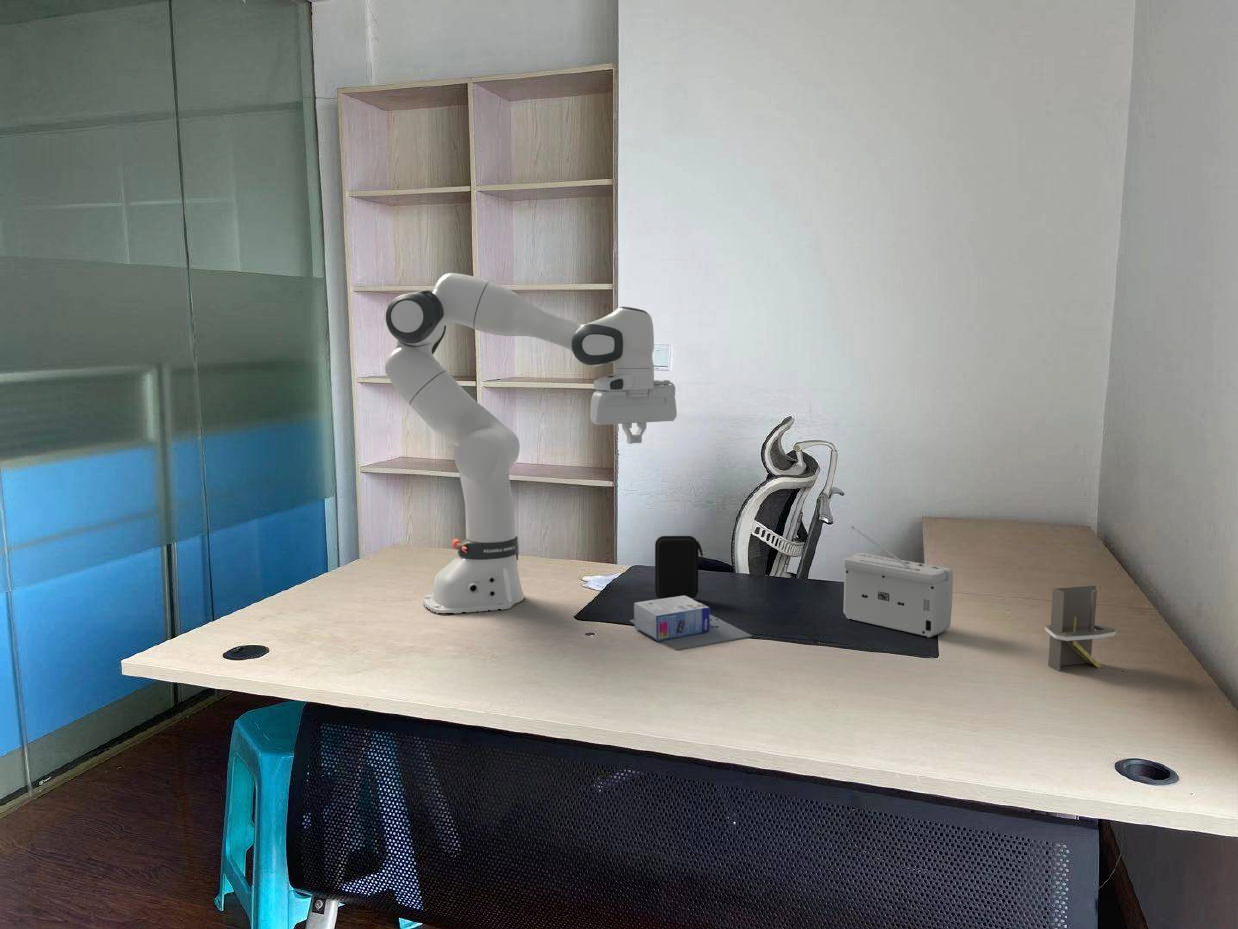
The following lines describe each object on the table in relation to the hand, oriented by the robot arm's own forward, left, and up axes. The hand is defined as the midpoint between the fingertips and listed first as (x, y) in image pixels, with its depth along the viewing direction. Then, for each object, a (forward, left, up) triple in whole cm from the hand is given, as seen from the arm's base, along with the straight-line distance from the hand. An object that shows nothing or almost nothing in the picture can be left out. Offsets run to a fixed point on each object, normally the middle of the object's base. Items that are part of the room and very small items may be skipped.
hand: (634, 443), depth 209 cm
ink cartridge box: (-12, -27, -32) cm, 44 cm away
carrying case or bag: (+7, -8, -35) cm, 37 cm away
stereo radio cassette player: (+37, -44, -35) cm, 67 cm away
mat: (-1, -27, -35) cm, 44 cm away
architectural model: (+49, -77, -36) cm, 98 cm away
